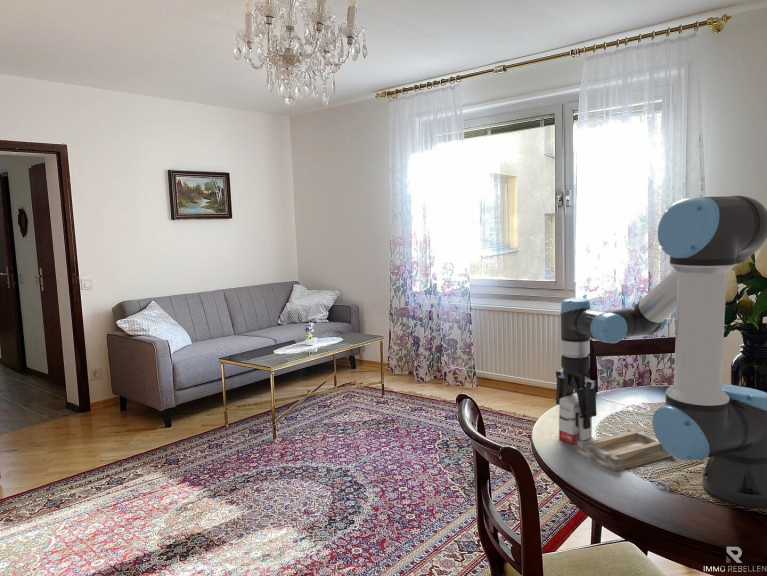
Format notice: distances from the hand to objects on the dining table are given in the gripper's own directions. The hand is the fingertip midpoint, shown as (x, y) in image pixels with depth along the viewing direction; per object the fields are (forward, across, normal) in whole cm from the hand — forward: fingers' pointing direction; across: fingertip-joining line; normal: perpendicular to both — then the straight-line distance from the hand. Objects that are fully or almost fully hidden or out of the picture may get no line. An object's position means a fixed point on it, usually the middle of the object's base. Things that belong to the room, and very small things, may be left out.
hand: (575, 434), depth 155 cm
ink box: (+1, 0, 0) cm, 1 cm away
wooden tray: (+1, -14, -4) cm, 14 cm away
